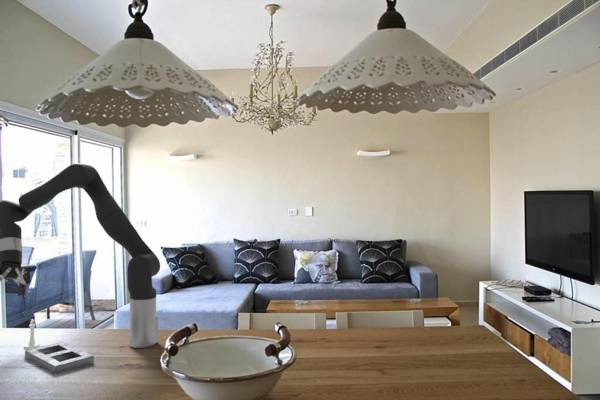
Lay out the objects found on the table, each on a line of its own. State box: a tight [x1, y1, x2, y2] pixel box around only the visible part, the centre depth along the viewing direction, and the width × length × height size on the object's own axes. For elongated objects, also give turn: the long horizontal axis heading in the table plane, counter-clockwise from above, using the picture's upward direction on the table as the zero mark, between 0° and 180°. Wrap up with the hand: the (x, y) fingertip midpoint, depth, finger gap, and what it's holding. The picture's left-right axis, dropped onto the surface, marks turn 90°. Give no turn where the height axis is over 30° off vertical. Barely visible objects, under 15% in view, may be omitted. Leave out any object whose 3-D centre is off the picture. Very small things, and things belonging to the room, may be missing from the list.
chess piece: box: [23, 318, 41, 350], centre depth 158 cm, size 5×5×10 cm
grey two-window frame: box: [24, 341, 95, 375], centre depth 145 cm, size 12×22×2 cm, turn 52°
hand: (9, 295), depth 157 cm, fingers open, 8 cm apart
